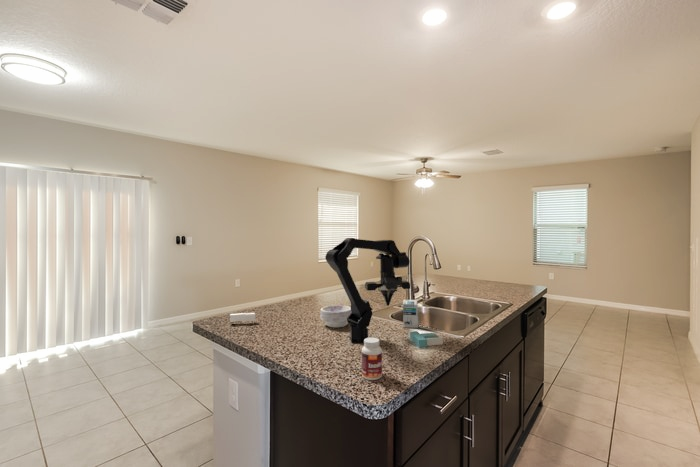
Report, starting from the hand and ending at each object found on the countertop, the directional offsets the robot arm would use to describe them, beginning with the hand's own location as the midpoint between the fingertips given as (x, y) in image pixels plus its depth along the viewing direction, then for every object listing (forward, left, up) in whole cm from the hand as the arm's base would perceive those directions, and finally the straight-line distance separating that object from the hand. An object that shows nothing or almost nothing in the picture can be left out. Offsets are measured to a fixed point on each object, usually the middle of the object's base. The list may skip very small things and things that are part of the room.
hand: (387, 305), depth 136 cm
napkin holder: (-64, +28, -13) cm, 71 cm away
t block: (+11, -14, -12) cm, 21 cm away
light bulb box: (+14, +10, -12) cm, 21 cm away
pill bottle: (-16, -38, -12) cm, 43 cm away
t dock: (+13, -14, -12) cm, 23 cm away
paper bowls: (-20, +17, -12) cm, 29 cm away
